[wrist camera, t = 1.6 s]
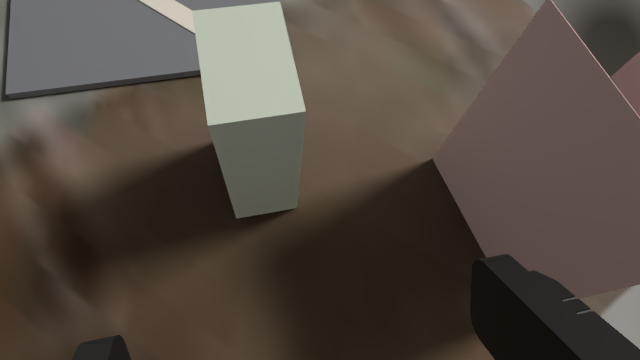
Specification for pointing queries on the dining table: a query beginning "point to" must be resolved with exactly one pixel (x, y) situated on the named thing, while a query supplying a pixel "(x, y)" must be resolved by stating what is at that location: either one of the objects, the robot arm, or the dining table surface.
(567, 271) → the greeting card
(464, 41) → the dining table surface
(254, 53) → the sage block
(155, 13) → the mat
